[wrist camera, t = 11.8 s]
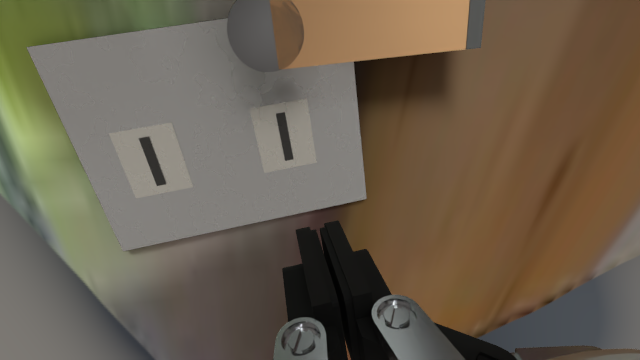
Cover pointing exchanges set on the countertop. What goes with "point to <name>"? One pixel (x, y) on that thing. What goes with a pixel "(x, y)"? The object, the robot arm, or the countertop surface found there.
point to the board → (201, 131)
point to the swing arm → (349, 30)
